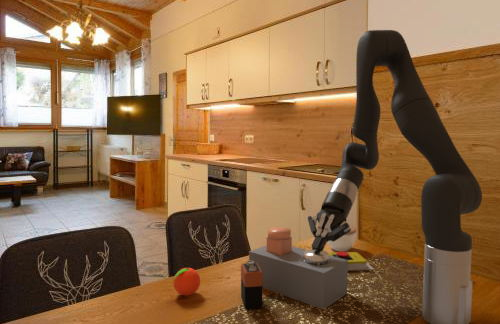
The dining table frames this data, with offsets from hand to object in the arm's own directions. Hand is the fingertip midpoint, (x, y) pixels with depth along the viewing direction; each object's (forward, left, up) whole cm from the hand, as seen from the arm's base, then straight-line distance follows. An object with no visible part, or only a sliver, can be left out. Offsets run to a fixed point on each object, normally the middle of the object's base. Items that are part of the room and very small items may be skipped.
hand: (315, 251), depth 97 cm
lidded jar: (+14, -39, -12) cm, 43 cm away
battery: (+9, +15, -12) cm, 21 cm away
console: (+6, 0, -12) cm, 13 cm away
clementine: (+25, +23, -12) cm, 36 cm away
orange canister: (+12, 0, -6) cm, 13 cm away
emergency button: (+4, -25, -12) cm, 28 cm away
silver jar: (0, 0, -10) cm, 10 cm away
